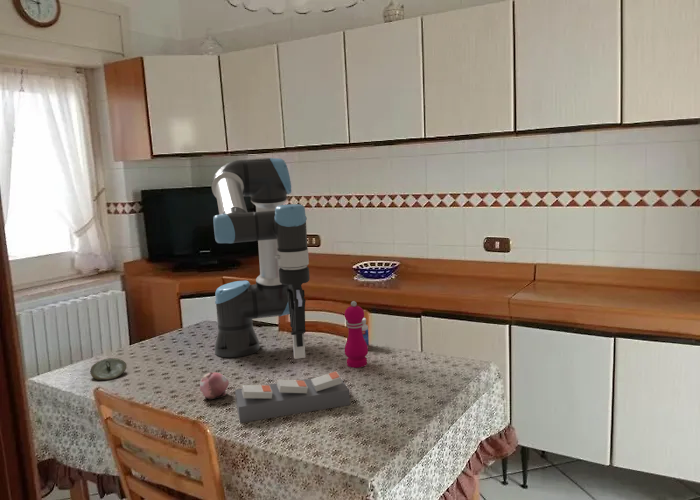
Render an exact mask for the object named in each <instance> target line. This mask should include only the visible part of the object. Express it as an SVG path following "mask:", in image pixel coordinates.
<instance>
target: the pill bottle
mask: <svg viewBox="0 0 700 500" xmlns="http://www.w3.org/2000/svg"><path fill="white" fill-rule="evenodd" d="M362 321H363V326H362V334H363V338H364V340H365V342H366V344H367V347H368V348H369V346H370V342H369V338H370V337H369V336H370V335H369V326H368V324H366V323H367V318H366V317H364V318H363V319H362Z"/></svg>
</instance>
